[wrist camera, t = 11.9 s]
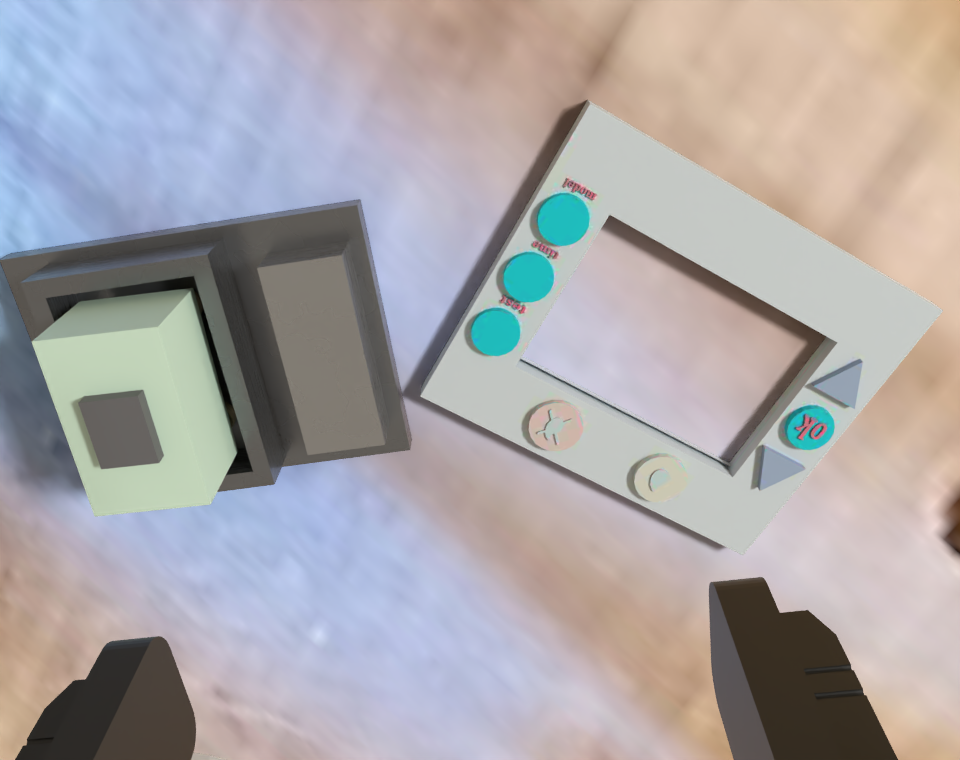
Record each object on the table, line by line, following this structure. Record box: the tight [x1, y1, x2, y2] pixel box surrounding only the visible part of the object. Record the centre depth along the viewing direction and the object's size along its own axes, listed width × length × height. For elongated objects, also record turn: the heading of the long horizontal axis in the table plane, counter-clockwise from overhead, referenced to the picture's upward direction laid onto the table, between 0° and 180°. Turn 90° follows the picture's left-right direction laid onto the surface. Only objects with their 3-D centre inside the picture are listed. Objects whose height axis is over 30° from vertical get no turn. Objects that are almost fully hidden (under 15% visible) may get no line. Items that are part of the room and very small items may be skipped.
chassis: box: [0, 200, 412, 492], centre depth 41 cm, size 12×16×4 cm
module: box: [32, 288, 238, 516], centre depth 38 cm, size 8×5×5 cm, turn 7°
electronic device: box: [420, 100, 943, 555], centre depth 42 cm, size 18×2×15 cm
